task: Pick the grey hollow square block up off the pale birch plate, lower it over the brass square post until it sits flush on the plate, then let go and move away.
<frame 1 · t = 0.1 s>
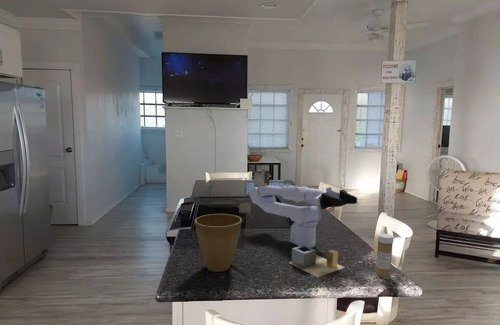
hand: (349, 201, 117), 22 cm above the kitchen island, tool horizontal, fingers open, 7 cm apart
plant pot: (217, 267, 114), on the kitchen island
grey hollow square block: (303, 263, 116), point 1 cm above the kitchen island, touching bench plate
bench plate: (316, 267, 115), on the kitchen island
sprinkles bottle: (382, 277, 110), on the kitchen island
brass post: (331, 269, 115), resting on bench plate
coffee box: (261, 195, 226), on the kitchen island
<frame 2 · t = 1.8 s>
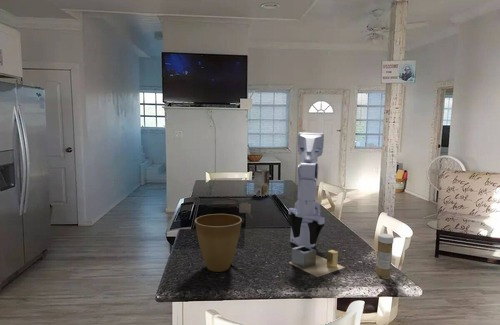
hand: (304, 240, 115), 9 cm above the kitchen island, tool pointing down, fingers open, 7 cm apart
nothing on the kitchen island moved.
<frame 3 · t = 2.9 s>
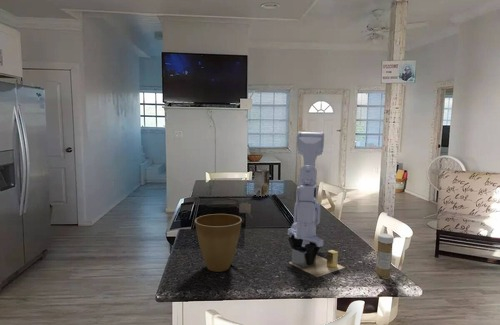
hand: (303, 261, 116), 2 cm above the kitchen island, tool pointing down, fingers closed on grey hollow square block, 6 cm apart
grey hollow square block: (303, 263, 116), point 1 cm above the kitchen island, touching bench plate, gripper
everything else where it was.
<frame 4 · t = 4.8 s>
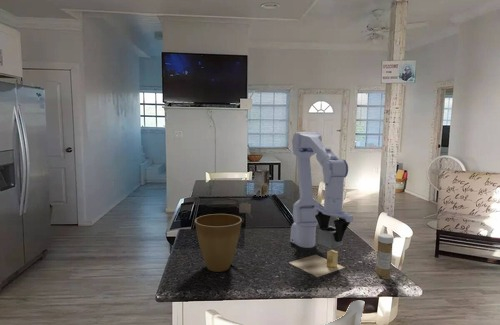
hand: (331, 238, 113), 10 cm above the kitchen island, tool pointing down, fingers closed on grey hollow square block, 6 cm apart
grey hollow square block: (330, 244, 113), point 9 cm above the kitchen island, touching gripper
everything else where it was.
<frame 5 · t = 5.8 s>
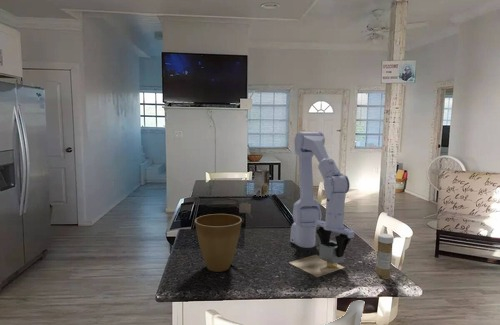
hand: (332, 253, 114), 5 cm above the kitchen island, tool pointing down, fingers closed on grey hollow square block, 6 cm apart
grey hollow square block: (331, 259, 114), point 3 cm above the kitchen island, touching gripper
everything else where it was.
when the fingers open (3 cm above the kitchen island, at t = 6.8 s): grey hollow square block stays where it is, resting on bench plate.
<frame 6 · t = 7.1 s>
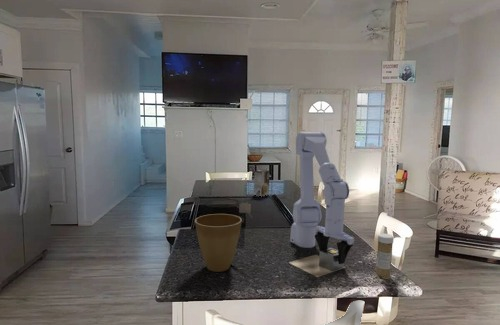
hand: (332, 259, 114), 3 cm above the kitchen island, tool pointing down, fingers open, 7 cm apart
grey hollow square block: (331, 266, 114), point 1 cm above the kitchen island, touching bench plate
everything else where it was.
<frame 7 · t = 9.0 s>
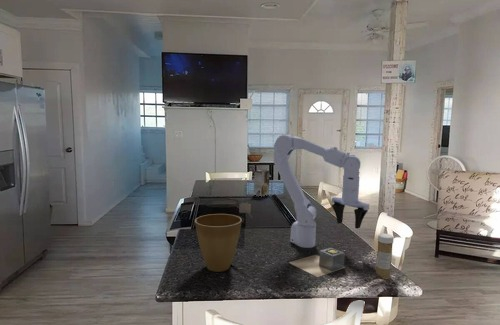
hand: (348, 225, 128), 10 cm above the kitchen island, tool pointing down, fingers open, 7 cm apart
nothing on the kitchen island moved.
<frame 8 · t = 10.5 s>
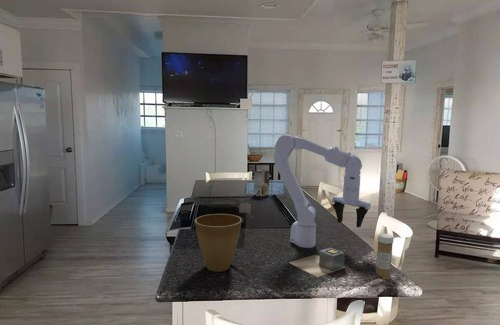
hand: (349, 224, 130), 10 cm above the kitchen island, tool pointing down, fingers open, 7 cm apart
nothing on the kitchen island moved.
at the end: grey hollow square block 0.3 cm off-centre on the brass post, point 1.0 cm above the brass post's base; grey hollow square block tilted 0°; the gripper is holding nothing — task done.
